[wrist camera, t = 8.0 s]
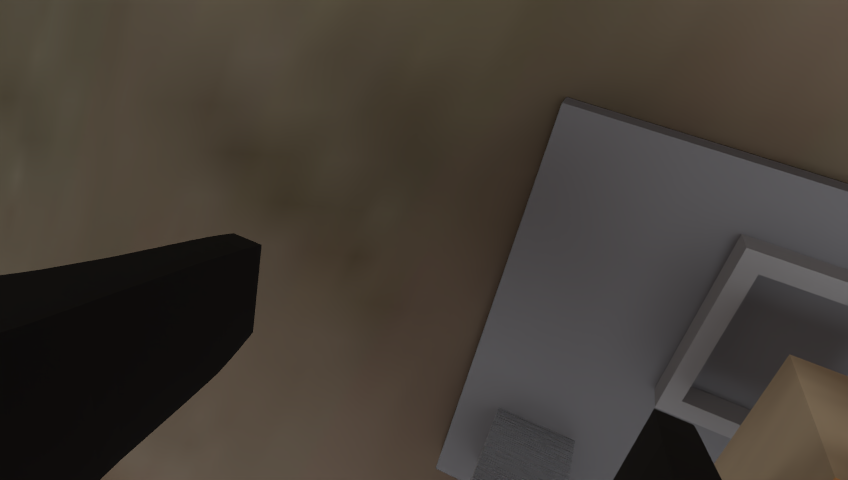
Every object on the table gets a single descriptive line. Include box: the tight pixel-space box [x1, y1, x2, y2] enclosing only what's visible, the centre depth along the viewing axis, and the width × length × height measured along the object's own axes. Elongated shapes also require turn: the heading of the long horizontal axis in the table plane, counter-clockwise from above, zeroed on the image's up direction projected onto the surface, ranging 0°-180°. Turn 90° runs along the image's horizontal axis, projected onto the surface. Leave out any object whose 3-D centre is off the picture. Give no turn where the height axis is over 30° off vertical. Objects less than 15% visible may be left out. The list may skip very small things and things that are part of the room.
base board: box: [436, 97, 848, 480], centre depth 19 cm, size 16×16×2 cm
